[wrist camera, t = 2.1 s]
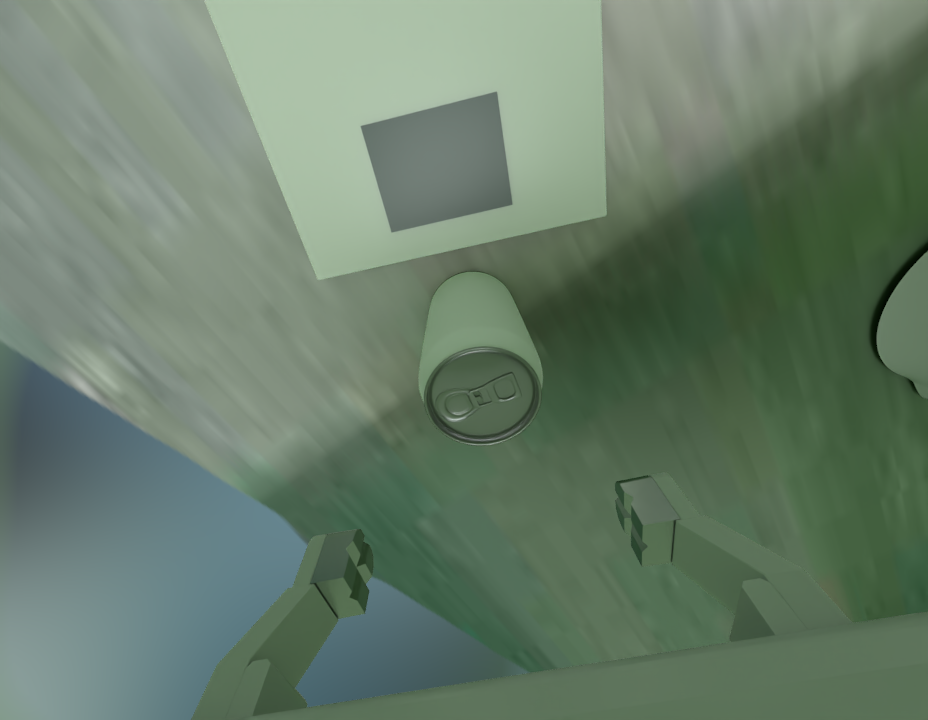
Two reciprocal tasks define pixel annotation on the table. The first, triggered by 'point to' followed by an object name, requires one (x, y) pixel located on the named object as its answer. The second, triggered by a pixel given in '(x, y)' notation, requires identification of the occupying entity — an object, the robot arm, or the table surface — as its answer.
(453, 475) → the table surface
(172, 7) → the table surface
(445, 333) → the can
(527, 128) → the panel
